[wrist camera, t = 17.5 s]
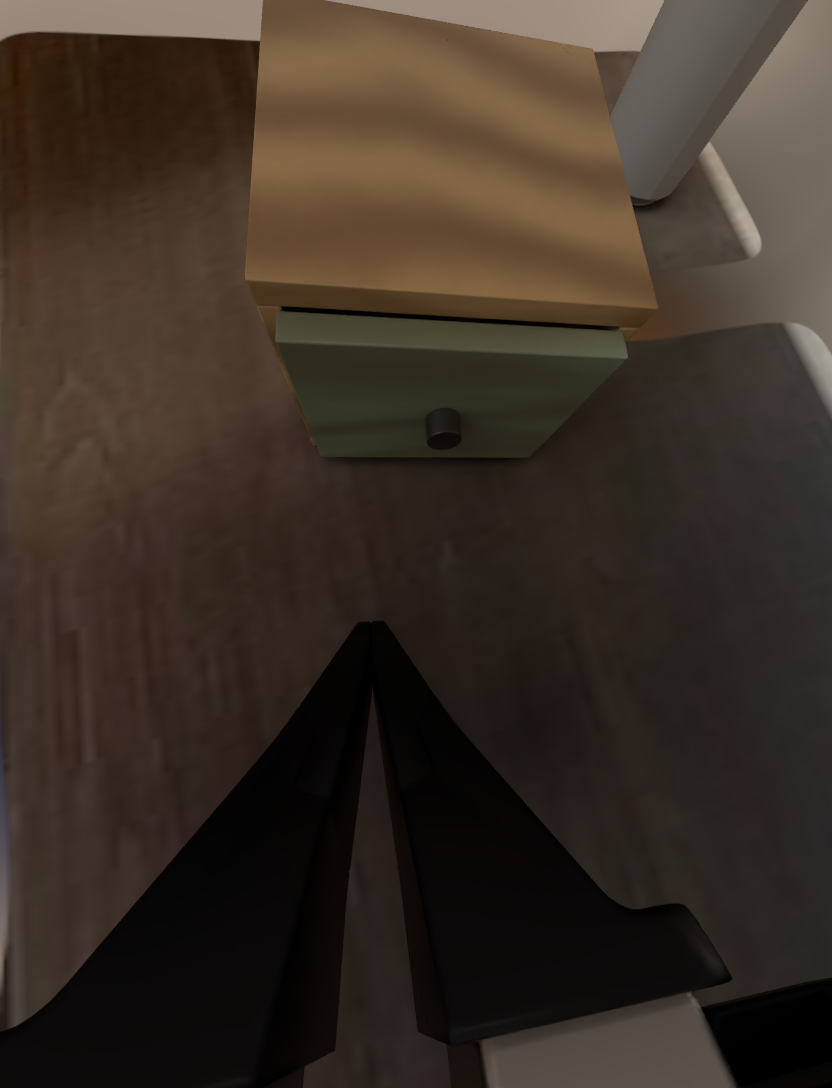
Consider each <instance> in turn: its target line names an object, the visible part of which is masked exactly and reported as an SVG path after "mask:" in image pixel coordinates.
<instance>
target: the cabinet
mask: <svg viewBox="0 0 832 1088" xmlns="http://www.w3.org/2000/svg"><path fill="white" fill-rule="evenodd" d="M245 281H246V284H247V286H248V289H249V291H250V294H251V296H252V298H253V301H254V303H255V304H256V307H257V309H258V312H259V314H260V317H261V319H262V321H263V324H264V326H265V329H266V331H267V334H268V336H269V339H270V341H271V343H272V346H273V348H274V351H275V353H276V356H277V358H278V361H279V363H280V365H281V368H282V370H283V373H284V375H285V378H286V380H287V383H288V385H289V387H290V390H291V392H292V395H293V397H294V400H295V402H296V405H297V407H298V409H299V412H300V414H301V417H302V419H303V422H304V424H305V427H306V429H307V431H308V434H309V436H310V439H311V441H312V444H313V445H314V446H316V444H315V441H314V439H313V436H312V434H311V431H310V428H309V426H308V423H307V421H306V418H305V416H304V413H303V411H302V408H301V405H300V403H299V400H298V398H297V395H296V393H295V390H294V388H293V385H292V382H291V380H290V377H289V375H288V372H287V370H286V367H285V365H284V362H283V359H282V357H281V354H280V352H279V349H278V347H277V344H276V342H275V335H276V313H277V311H287V312H304V313H308V312H307V308H321V309H337V310H353V311H370V312H386V313H403V314H419V315H435V316H452V317H468V318H485V319H501V320H517V321H534V322H550V323H567V324H582V325H581V327H580V328H579V329H592V330H609V331H621V332H623V336H624V340H625V343H626V342H627V341H628V340H629V339H630V338H631V336H632V335H633V334H634V333H635V332H636V331H637V330H638V328H640V327H641V326H642V325H643V324H644V323H645V322H646V321H647V320H648V319H649V318H650V317H651V316H652V315H653V313H654V312H655V311H656V310H657V309H658V306H657V302H656V297H655V293H654V290H653V285H652V281H651V277H650V274H649V270H648V266H647V262H646V258H645V254H644V250H643V246H642V242H641V238H640V234H639V230H638V226H637V222H636V218H635V214H634V210H633V206H632V202H631V198H630V194H629V190H628V186H627V182H626V178H625V174H624V170H623V166H622V162H621V159H620V155H619V151H618V147H617V143H616V139H615V135H614V131H613V127H612V123H611V119H610V115H609V111H608V107H607V103H606V99H605V95H604V91H603V87H602V83H601V79H600V75H599V71H598V67H597V63H596V59H595V55H594V51H593V49H591V48H585V47H580V46H574V45H569V44H563V43H558V42H552V41H546V40H541V39H535V38H529V37H524V36H519V35H513V34H508V33H502V32H497V31H491V30H486V29H480V28H474V27H469V26H463V25H458V24H452V23H447V22H442V21H436V20H430V19H425V18H419V17H413V16H408V15H402V14H397V13H392V12H386V11H380V10H375V9H370V8H364V7H358V6H353V5H348V4H342V3H336V2H331V1H325V0H263V8H262V23H261V39H260V54H259V69H258V85H257V100H256V115H255V130H254V146H253V161H252V176H251V192H250V207H249V222H248V237H247V253H246V268H245Z"/></svg>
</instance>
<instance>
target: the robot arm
mask: <svg viewBox="0 0 832 1088" xmlns="http://www.w3.org/2000/svg"><path fill="white" fill-rule="evenodd" d="M372 682H373V694H374V702H375V709H376V716H377V723H378V730H379V737H380V744H381V751H382V758H383V765H384V772H385V779H386V786H387V793H388V800H389V807H390V815H391V822H392V829H393V836H394V843H395V850H396V857H397V863H398V871H399V878H400V886H401V894H402V902H403V910H404V918H405V927H406V935H407V944H408V952H409V960H410V969H411V977H412V986H413V994H414V1003H415V1011H416V1020H417V1029H418V1032H420V1033H422V1034H424V1035H426V1036H429V1037H431V1038H433V1039H436V1040H438V1041H440V1042H443V1043H445V1044H447V1051H448V1061H449V1070H450V1080H451V1088H832V978H827V979H821V980H815V981H809V982H804V983H800V984H795V985H791V986H787V987H783V988H779V989H775V990H771V991H766V992H762V993H758V994H754V995H750V996H746V997H741V998H737V999H733V1000H729V1001H725V1002H721V1003H716V1004H712V1005H708V1006H704V1007H700V1005H699V1003H698V1001H697V999H696V997H695V995H694V993H693V991H696V990H701V989H705V988H709V987H713V986H716V985H720V984H723V983H726V982H729V981H731V980H732V977H731V975H730V973H729V971H728V969H727V968H726V966H725V964H724V962H723V961H722V959H721V957H720V956H719V954H718V953H717V951H716V949H715V947H714V945H713V944H712V942H711V941H710V939H709V938H708V936H707V934H706V933H705V931H704V930H703V929H702V927H701V926H700V924H699V922H698V921H697V920H696V918H695V917H694V915H693V914H692V913H691V911H690V910H689V909H688V908H687V907H686V906H685V905H683V904H679V903H674V904H665V905H659V906H653V907H648V908H643V909H629V908H627V907H624V906H621V905H619V904H618V903H617V902H615V901H614V900H612V899H611V898H609V897H608V896H607V895H606V894H605V893H604V892H603V891H602V890H601V889H600V888H599V887H598V885H597V884H596V883H595V882H594V881H593V880H592V879H591V878H590V876H589V875H588V874H587V873H586V872H585V871H584V870H583V868H582V867H581V866H580V865H579V864H578V863H577V862H576V860H575V859H574V858H573V857H572V856H571V855H570V854H569V853H568V851H567V850H566V849H565V848H564V847H563V846H562V845H561V843H560V842H559V841H558V840H557V839H556V838H555V837H554V835H553V834H552V833H551V832H550V831H549V830H548V829H547V828H546V826H545V825H544V824H543V823H542V822H541V821H540V820H539V818H538V817H537V816H536V815H535V814H534V813H533V812H532V810H531V809H530V808H529V807H528V806H527V805H526V804H525V803H524V801H523V800H522V799H521V798H520V797H519V796H518V795H517V793H516V792H515V791H514V790H513V789H512V788H511V787H510V785H509V784H508V783H507V782H506V781H505V780H504V779H503V778H502V776H501V775H500V774H499V773H498V772H497V771H496V770H495V768H494V767H493V766H492V765H491V764H490V763H489V762H488V760H487V759H486V758H485V757H484V756H483V755H482V754H481V753H480V751H479V750H478V749H477V748H476V747H475V746H474V745H473V743H472V742H471V741H470V740H469V739H468V738H467V737H466V735H465V734H464V733H463V732H462V731H461V729H460V728H459V727H458V726H457V725H456V723H455V722H454V721H453V720H452V718H451V717H450V716H449V714H448V713H447V711H446V710H445V709H444V707H443V706H442V705H441V703H440V702H439V700H438V699H437V697H436V696H435V695H434V693H433V692H432V690H431V689H430V687H429V686H428V685H427V683H426V682H425V680H424V679H423V677H422V676H421V674H420V673H419V671H418V670H417V668H416V667H415V665H414V664H413V662H412V661H411V660H410V658H409V657H408V655H407V654H406V652H405V651H404V649H403V648H402V646H401V645H400V643H399V642H398V640H397V639H396V637H395V636H394V635H393V633H392V632H391V630H390V629H389V627H388V626H387V624H386V623H385V622H384V621H373V622H372V623H371V622H369V621H367V622H358V623H357V624H356V626H355V627H354V629H353V630H352V631H351V633H350V634H349V636H348V637H347V639H346V640H345V641H344V643H343V644H342V646H341V647H340V649H339V650H338V652H337V653H336V654H335V656H334V657H333V659H332V660H331V662H330V663H329V664H328V666H327V667H326V669H325V670H324V672H323V673H322V674H321V676H320V677H319V679H318V680H317V682H316V683H315V684H314V686H313V687H312V689H311V690H310V692H309V693H308V694H307V696H306V697H305V699H304V700H303V702H302V703H301V704H300V707H298V708H297V710H296V711H295V712H294V714H293V715H292V717H291V718H290V720H289V721H288V722H287V724H286V725H285V726H284V728H283V729H282V730H281V732H280V733H279V734H278V736H277V737H276V739H275V740H274V741H273V742H272V743H271V745H270V746H269V747H268V748H267V749H266V751H265V752H264V753H263V754H262V756H261V757H260V758H259V759H258V760H257V762H256V763H255V764H254V765H253V766H252V767H251V769H250V770H249V771H248V772H247V773H246V774H245V776H244V777H243V778H242V779H241V780H240V781H239V783H238V784H237V785H236V786H235V787H234V788H233V790H232V791H231V792H230V793H229V794H228V795H227V797H226V798H225V799H224V800H223V801H222V803H221V804H220V805H219V806H218V807H217V808H216V810H215V811H214V812H213V813H212V814H211V815H210V817H209V818H208V819H207V820H206V821H205V822H204V824H203V825H202V826H201V827H200V828H199V829H198V831H197V832H196V833H195V834H194V835H193V836H192V838H191V839H190V840H189V841H188V842H187V843H186V845H185V846H184V847H183V848H182V849H181V850H180V852H179V853H178V854H177V855H176V856H175V857H174V859H173V860H172V861H171V862H170V863H169V864H168V866H167V867H166V868H165V869H164V870H163V872H162V873H161V874H160V875H159V876H158V877H157V879H156V880H155V881H154V882H153V883H152V884H151V886H150V887H149V888H148V889H147V890H146V891H145V893H144V894H143V895H142V896H141V897H140V898H139V900H138V901H137V902H136V903H135V904H134V905H133V907H132V908H131V909H130V910H129V911H128V912H127V914H126V915H125V916H124V917H123V918H122V919H121V921H120V922H119V923H118V924H117V925H116V926H115V928H114V929H113V930H112V931H111V932H110V933H109V935H108V936H107V937H106V938H105V939H104V941H103V942H102V943H101V944H100V945H99V946H98V948H97V949H96V950H95V951H94V952H93V953H92V955H91V956H90V957H89V958H88V959H87V960H86V962H85V963H84V964H83V965H82V966H81V967H80V969H79V970H78V971H77V972H76V973H75V974H74V976H73V977H72V978H71V979H70V980H69V981H68V983H67V984H66V985H65V986H64V987H63V988H62V989H61V990H60V991H59V992H58V993H57V994H56V996H55V997H54V998H53V999H52V1000H51V1001H50V1002H49V1003H47V1004H46V1005H45V1006H44V1007H43V1008H41V1009H40V1010H39V1011H38V1012H37V1013H36V1014H34V1015H33V1016H32V1017H30V1018H28V1019H27V1020H25V1021H24V1022H22V1023H21V1024H19V1025H17V1026H16V1027H13V1028H10V1029H7V1030H5V1031H1V1032H0V1088H303V1078H304V1068H305V1066H306V1065H308V1064H310V1063H312V1062H314V1061H316V1060H318V1059H320V1058H322V1057H324V1056H326V1055H328V1054H329V1053H331V1052H333V1051H335V1045H336V1033H337V1019H338V1005H339V992H340V978H341V965H342V951H343V938H344V924H345V911H346V900H347V890H348V881H349V871H350V865H351V857H352V849H353V841H354V833H355V825H356V817H357V809H358V801H359V793H360V785H361V777H362V769H363V760H364V752H365V744H366V736H367V728H368V720H369V712H370V704H371V696H372Z"/></svg>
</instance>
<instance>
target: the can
mask: <svg viewBox="0 0 832 1088" xmlns="http://www.w3.org/2000/svg"><path fill="white" fill-rule="evenodd" d="M807 1H808V0H664V3H663V5H662V7H661V9H660V11H659V13H658V16H657V18H656V20H655V22H654V24H653V26H652V28H651V30H650V33H649V35H648V37H647V39H646V41H645V43H644V45H643V47H642V50H641V52H640V54H639V56H638V58H637V60H636V62H635V64H634V67H633V69H632V71H631V73H630V75H629V77H628V79H627V82H626V84H625V86H624V88H623V90H622V92H621V94H620V96H619V99H618V101H617V103H616V105H615V107H614V109H613V111H612V114H611V116H610V119H611V123H612V127H613V131H614V135H615V139H616V143H617V147H618V151H619V155H620V159H621V162H622V166H623V170H624V174H625V178H626V182H627V186H628V190H629V194H630V198H631V202H632V205H635V206H644V205H648V204H651V203H653V202H655V201H656V200H659V199H662V198H664V197H666V196H668V195H670V194H671V193H672V192H673V191H674V189H675V188H676V187H677V186H678V184H679V183H680V181H681V180H682V179H683V177H684V176H685V174H686V173H687V171H688V170H689V169H690V167H691V166H692V164H693V163H694V161H695V160H696V159H697V157H698V156H699V154H700V153H701V152H702V150H703V149H704V147H705V146H706V144H707V143H708V142H709V140H710V139H711V137H712V136H713V135H714V133H715V132H716V130H717V129H718V127H719V126H720V124H721V123H722V122H723V120H724V119H725V117H726V116H727V115H728V113H729V112H730V110H731V109H732V108H733V106H734V105H735V103H736V102H737V100H738V99H739V98H740V96H741V95H742V93H743V92H744V91H745V89H746V88H747V86H748V85H749V83H750V82H751V81H752V79H753V78H754V76H755V75H756V74H757V72H758V71H759V69H760V68H761V66H762V65H763V64H764V62H765V61H766V59H767V58H768V56H769V55H770V53H771V52H772V51H773V49H774V48H775V47H776V45H777V44H778V42H779V41H780V39H781V38H782V37H783V35H784V34H785V32H786V31H787V30H788V28H789V27H790V25H791V24H792V22H793V21H794V20H795V18H796V17H797V15H798V14H799V12H800V11H801V9H802V8H803V7H804V5H805V4H806V3H807Z"/></svg>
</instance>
